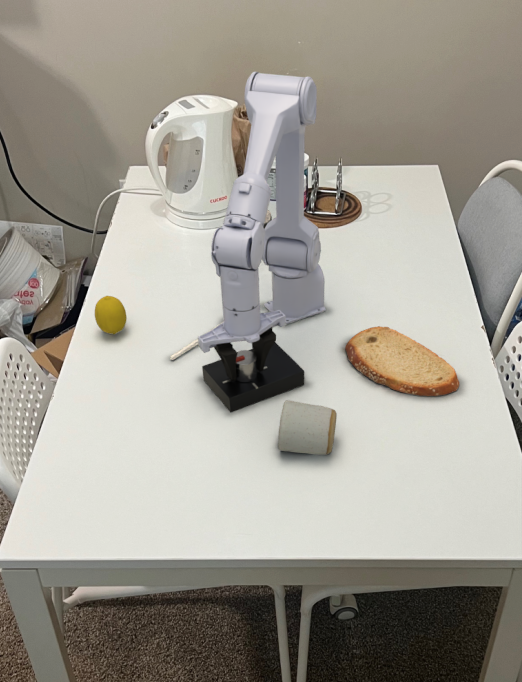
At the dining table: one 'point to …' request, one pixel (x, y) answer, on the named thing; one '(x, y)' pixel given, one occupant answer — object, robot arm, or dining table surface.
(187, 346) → the fork
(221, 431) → the dining table surface
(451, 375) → the bread slice
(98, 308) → the lemon
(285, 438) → the ceramic mug
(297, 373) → the black knob base
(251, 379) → the hob knob
